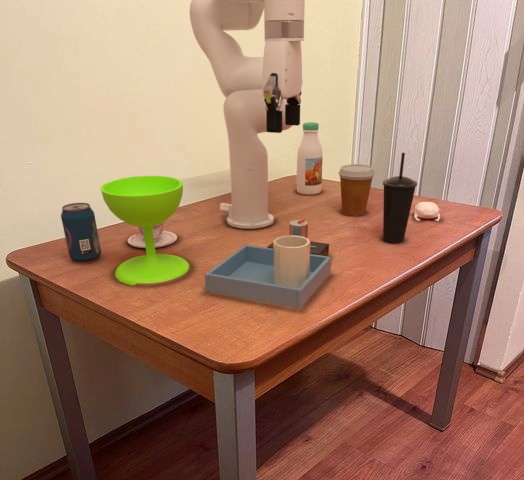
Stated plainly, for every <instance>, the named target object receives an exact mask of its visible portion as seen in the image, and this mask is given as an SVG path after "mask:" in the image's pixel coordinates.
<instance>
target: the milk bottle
mask: <svg viewBox="0 0 524 480" xmlns="http://www.w3.org/2000/svg"><path fill="white" fill-rule="evenodd" d="M319 126H320V125H319V123H318V122H311V121H310V122H308V121H307V122H304V123H303V124H302V132H303V134H302V138H301V141H300V144H299V146H298V149H297V156H296V192H297V193H298V194H301V195H306V196H307V195H308V196H310V195H311V196H312V195H317V194H320V193H321V192H322V183H323V181H322V180H323V148H322V144H321V142H320V139H319V136H318V132H319Z"/></svg>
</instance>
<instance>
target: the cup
mask: <svg viewBox="0 0 524 480" xmlns="http://www.w3.org/2000/svg"><path fill="white" fill-rule="evenodd" d="M310 241H311V240H310V239H309V238H308V239H307V238H305V237H302V236H295V235H291V236H289V235H283V236H279V237H276V238H275V239H274V240H272V243H273V284H275V285H281V286H287V287H293V288H299V287H300V286H301V285H302V284H303V283H304V282H305V281H306V279H307V278H308V277H309V267H310Z"/></svg>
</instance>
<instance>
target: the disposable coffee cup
mask: <svg viewBox="0 0 524 480" xmlns="http://www.w3.org/2000/svg"><path fill="white" fill-rule="evenodd" d="M375 175H376V173H375V171H374V167H373V166H372V165H367V164H358V163H357V164H355V163H353V164H345V165H342V166H340V168H339V171H338V176H339V182H340V195H341V196H340V197H341V212H342V214H343V215H345V216H350V217H358V216H359V217H361V216H363V215H365V214H366V211H367V207H368V200H369V196H370V193H371V187H372V182H373V178H374V177H375Z"/></svg>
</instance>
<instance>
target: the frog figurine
mask: <svg viewBox="0 0 524 480" xmlns="http://www.w3.org/2000/svg"><path fill="white" fill-rule="evenodd" d="M413 217H414V219H415V220H416V222H420V221H421V219H423V220H424V219H425V220H430V219H431V220H432V219H433V220H434V221H435V222H439V221H440V219H441V214H440V208H439V206H438V204H436V203H435V202H433V201H420V202H418V203H417V204H415V205H414V215H413Z"/></svg>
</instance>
